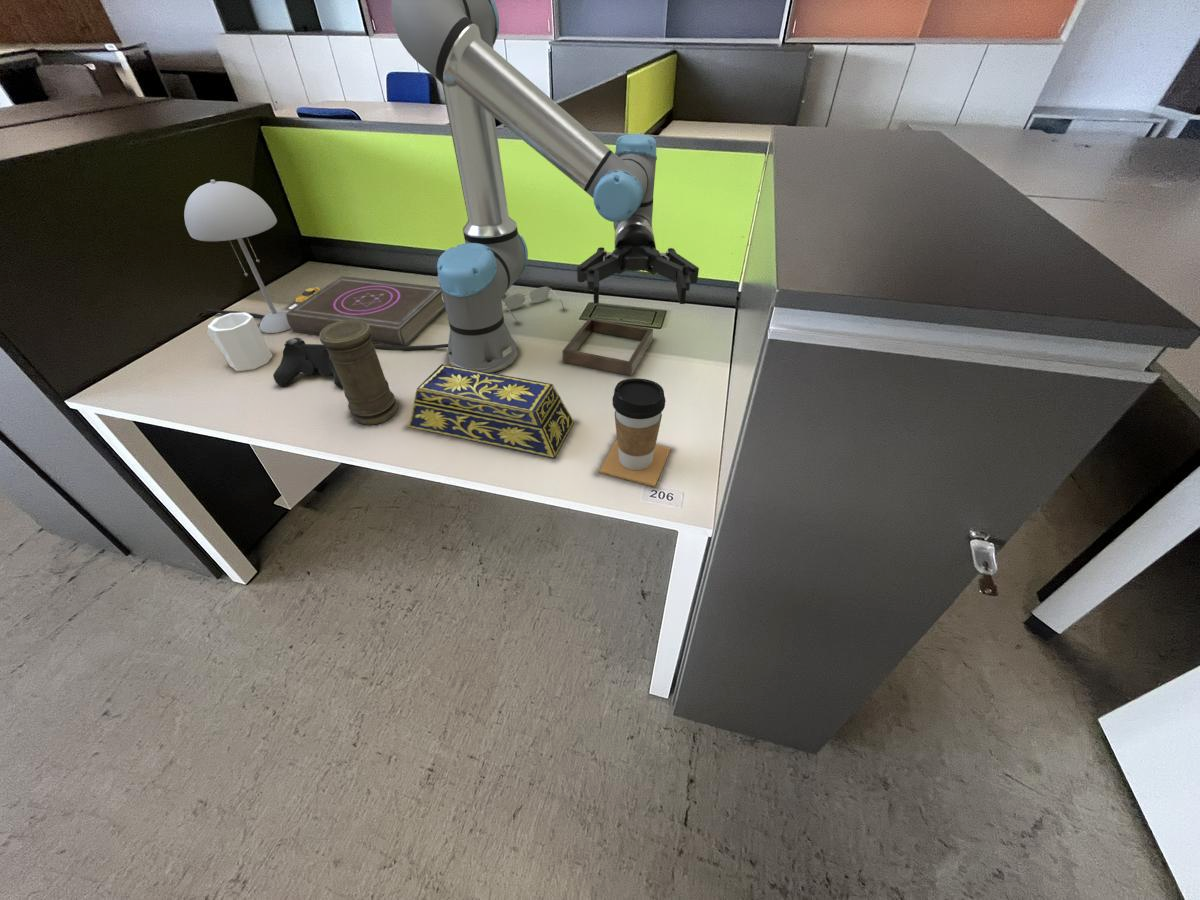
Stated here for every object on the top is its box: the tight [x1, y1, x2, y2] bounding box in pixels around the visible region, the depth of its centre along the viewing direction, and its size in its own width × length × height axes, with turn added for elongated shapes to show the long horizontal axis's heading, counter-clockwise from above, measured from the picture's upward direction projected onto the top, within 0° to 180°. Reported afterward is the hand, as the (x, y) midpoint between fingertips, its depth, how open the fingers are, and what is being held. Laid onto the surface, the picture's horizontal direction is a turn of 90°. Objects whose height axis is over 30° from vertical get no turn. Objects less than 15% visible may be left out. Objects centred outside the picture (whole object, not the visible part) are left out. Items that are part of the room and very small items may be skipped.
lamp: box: [183, 179, 292, 334], centre depth 119 cm, size 17×17×33 cm
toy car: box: [287, 286, 322, 310], centre depth 138 cm, size 4×8×2 cm, turn 164°
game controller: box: [272, 336, 343, 389], centre depth 110 cm, size 16×7×10 cm, turn 86°
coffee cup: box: [612, 377, 666, 471], centre depth 86 cm, size 8×8×15 cm
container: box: [319, 320, 399, 426], centre depth 97 cm, size 9×9×18 cm
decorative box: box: [408, 363, 575, 459], centre depth 97 cm, size 11×30×9 cm, turn 72°
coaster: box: [598, 438, 671, 488], centre depth 92 cm, size 10×10×1 cm
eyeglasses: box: [501, 286, 565, 325], centre depth 133 cm, size 14×8×4 cm, turn 122°
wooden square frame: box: [562, 317, 654, 377], centre depth 118 cm, size 16×16×3 cm
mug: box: [206, 311, 273, 372], centre depth 114 cm, size 12×9×10 cm
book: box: [286, 275, 446, 346], centre depth 130 cm, size 30×22×5 cm
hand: (639, 295), depth 81 cm, fingers open, 13 cm apart
